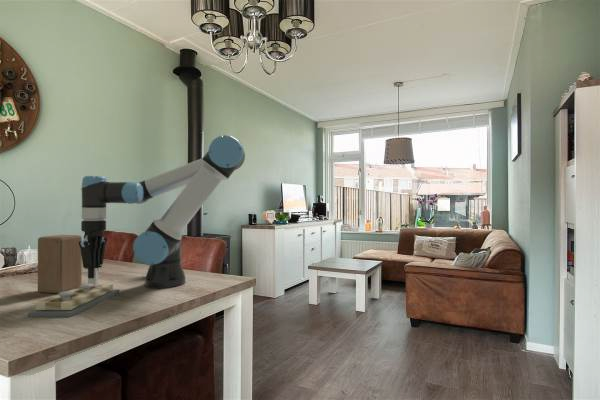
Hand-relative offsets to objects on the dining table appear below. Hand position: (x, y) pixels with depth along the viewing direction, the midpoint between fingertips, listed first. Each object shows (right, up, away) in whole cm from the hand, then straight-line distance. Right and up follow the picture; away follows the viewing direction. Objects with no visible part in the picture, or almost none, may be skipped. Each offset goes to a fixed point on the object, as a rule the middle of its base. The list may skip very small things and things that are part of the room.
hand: (93, 286), depth 122 cm
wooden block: (-16, -3, +6) cm, 17 cm away
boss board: (+2, -3, -11) cm, 12 cm away
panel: (+2, -1, -12) cm, 12 cm away
